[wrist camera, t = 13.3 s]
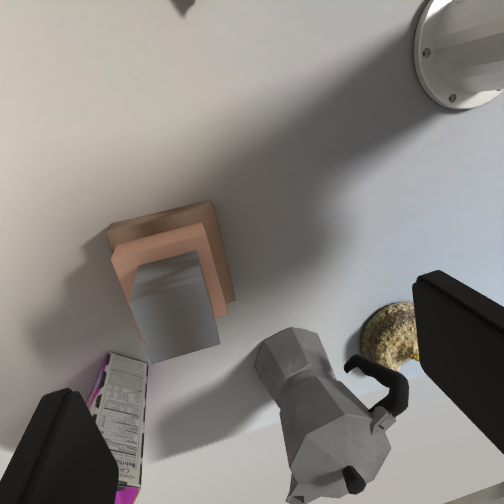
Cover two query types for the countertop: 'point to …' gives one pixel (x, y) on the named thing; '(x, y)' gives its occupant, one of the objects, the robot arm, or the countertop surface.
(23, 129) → the countertop surface
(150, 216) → the tower base
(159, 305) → the grey block
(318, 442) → the coffeepot
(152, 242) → the tower top
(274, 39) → the countertop surface
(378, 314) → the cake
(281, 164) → the countertop surface
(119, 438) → the candy bar box
